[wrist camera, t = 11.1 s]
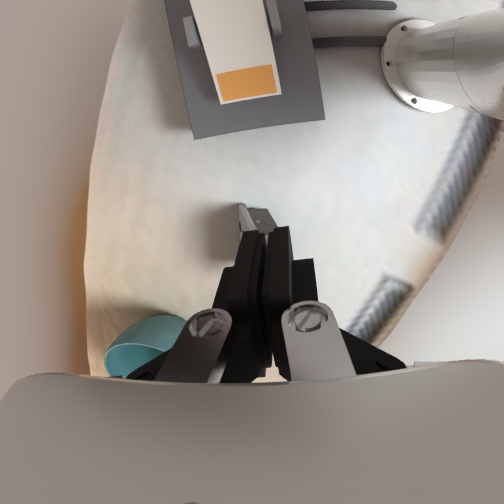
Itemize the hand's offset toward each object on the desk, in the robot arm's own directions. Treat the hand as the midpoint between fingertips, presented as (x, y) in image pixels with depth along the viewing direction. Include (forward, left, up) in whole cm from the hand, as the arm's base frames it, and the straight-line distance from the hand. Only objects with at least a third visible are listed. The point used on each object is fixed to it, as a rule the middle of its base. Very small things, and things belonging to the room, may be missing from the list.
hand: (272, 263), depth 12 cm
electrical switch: (+5, +13, -29) cm, 33 cm away
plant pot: (+24, +31, -29) cm, 49 cm away
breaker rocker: (+2, -13, -19) cm, 23 cm away
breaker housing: (+2, -13, -29) cm, 32 cm away
